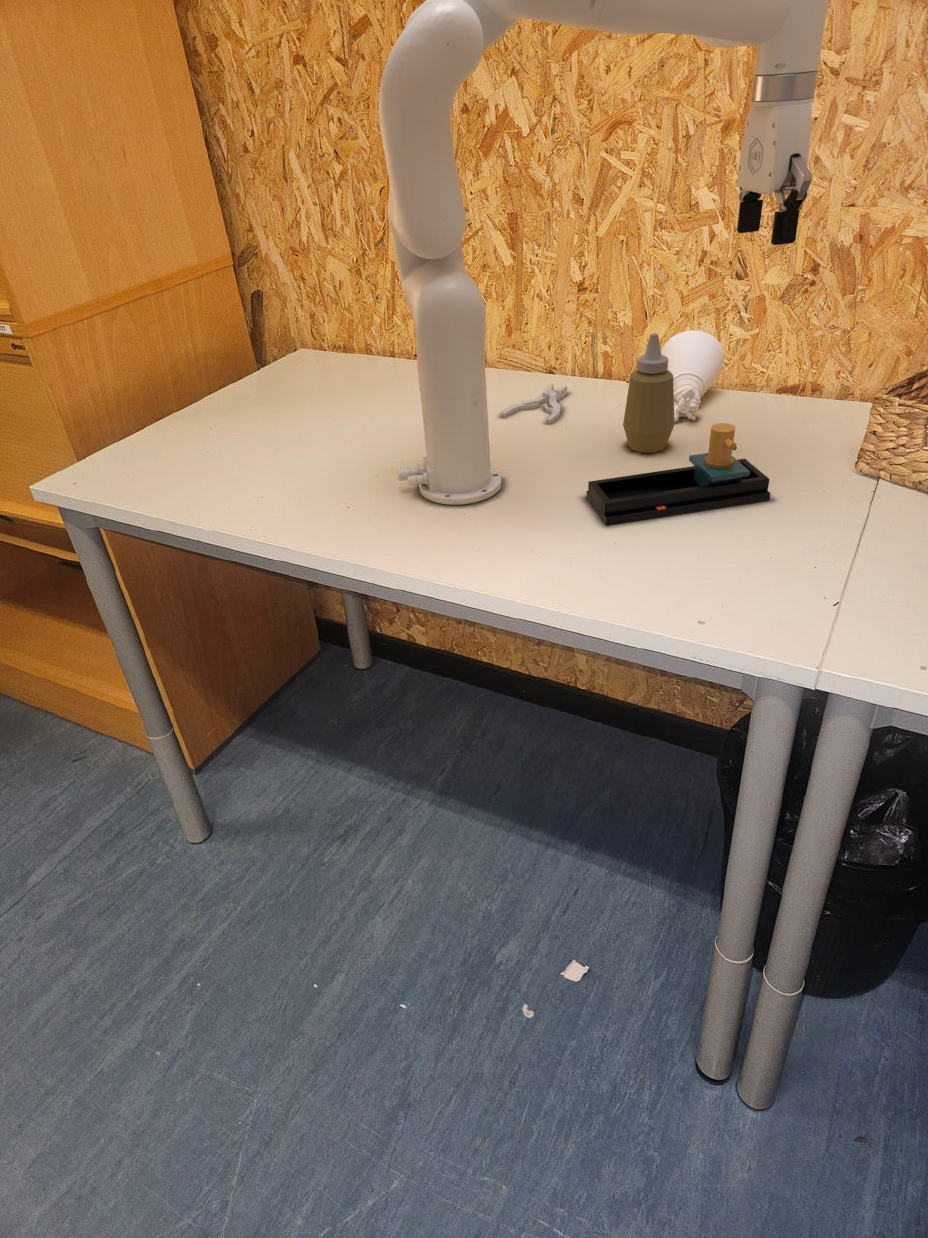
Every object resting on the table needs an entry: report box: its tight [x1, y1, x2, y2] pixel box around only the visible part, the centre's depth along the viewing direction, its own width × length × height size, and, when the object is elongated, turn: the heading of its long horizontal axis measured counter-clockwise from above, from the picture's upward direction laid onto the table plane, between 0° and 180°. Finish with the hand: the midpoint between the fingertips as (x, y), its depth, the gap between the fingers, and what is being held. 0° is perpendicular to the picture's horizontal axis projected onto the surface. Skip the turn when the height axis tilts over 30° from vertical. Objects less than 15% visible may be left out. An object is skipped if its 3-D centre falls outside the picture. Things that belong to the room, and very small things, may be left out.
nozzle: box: [688, 422, 750, 486], centre depth 115 cm, size 6×8×8 cm
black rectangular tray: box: [585, 458, 771, 526], centre depth 117 cm, size 24×9×3 cm, turn 101°
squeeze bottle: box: [622, 333, 675, 454], centre depth 128 cm, size 8×8×18 cm
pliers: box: [501, 383, 568, 425], centre depth 151 cm, size 10×2×15 cm
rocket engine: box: [661, 330, 725, 423], centre depth 144 cm, size 12×12×18 cm
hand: (764, 237), depth 113 cm, fingers open, 9 cm apart
